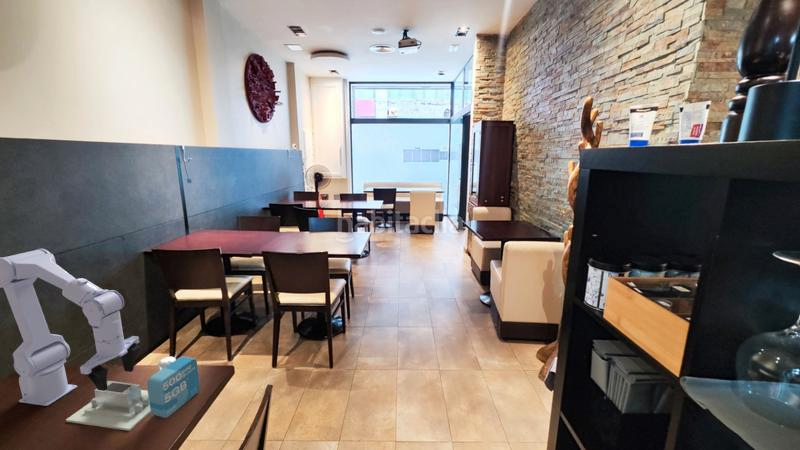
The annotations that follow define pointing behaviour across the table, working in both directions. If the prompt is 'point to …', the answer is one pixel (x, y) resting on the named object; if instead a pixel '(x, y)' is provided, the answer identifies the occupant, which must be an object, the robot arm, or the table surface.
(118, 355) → the robot arm
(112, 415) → the dock tray
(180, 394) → the data package
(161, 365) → the milkshake
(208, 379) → the table surface
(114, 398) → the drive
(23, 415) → the table surface
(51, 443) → the table surface
